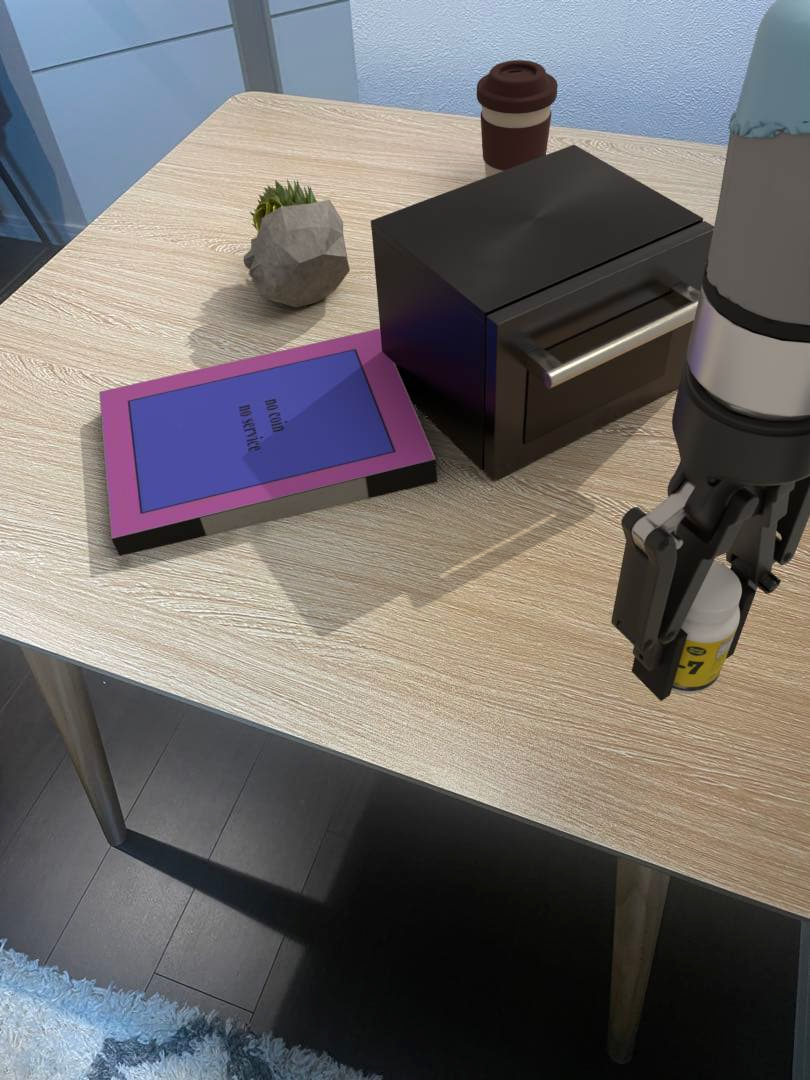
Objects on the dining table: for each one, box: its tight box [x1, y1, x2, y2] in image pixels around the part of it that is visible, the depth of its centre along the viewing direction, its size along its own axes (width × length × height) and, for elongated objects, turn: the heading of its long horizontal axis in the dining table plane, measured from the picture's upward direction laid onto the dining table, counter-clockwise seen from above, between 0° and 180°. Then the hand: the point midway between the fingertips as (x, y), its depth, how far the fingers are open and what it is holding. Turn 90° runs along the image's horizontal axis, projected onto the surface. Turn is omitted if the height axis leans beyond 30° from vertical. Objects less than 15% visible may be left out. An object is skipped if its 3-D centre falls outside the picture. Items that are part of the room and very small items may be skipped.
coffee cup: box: [476, 59, 559, 178], centre depth 117 cm, size 10×10×15 cm
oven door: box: [483, 220, 714, 482], centre depth 83 cm, size 5×24×18 cm, turn 123°
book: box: [98, 327, 438, 557], centre depth 90 cm, size 21×3×30 cm
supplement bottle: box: [671, 560, 742, 695], centre depth 56 cm, size 5×5×8 cm
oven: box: [370, 144, 704, 472], centre depth 90 cm, size 18×24×18 cm
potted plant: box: [243, 178, 351, 309], centre depth 106 cm, size 12×13×15 cm
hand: (682, 662), depth 59 cm, fingers closed on supplement bottle, 5 cm apart
